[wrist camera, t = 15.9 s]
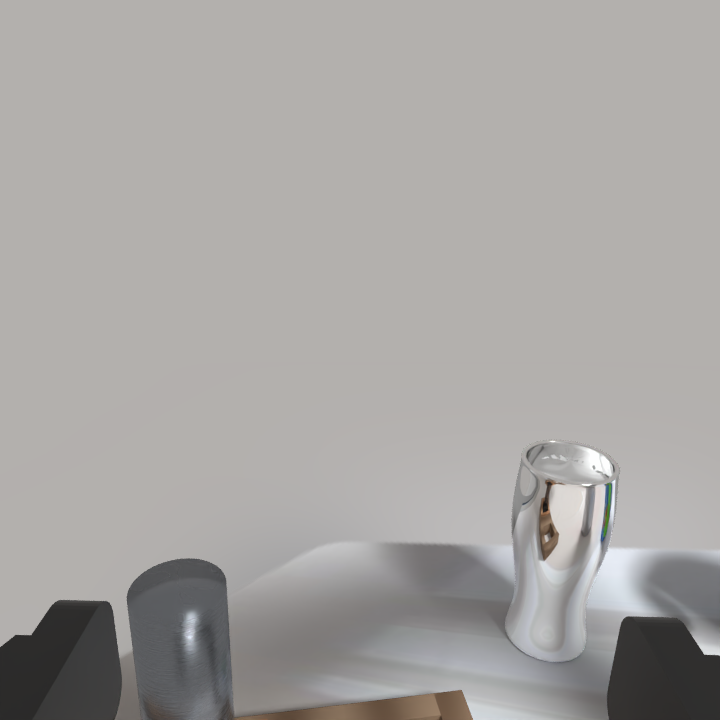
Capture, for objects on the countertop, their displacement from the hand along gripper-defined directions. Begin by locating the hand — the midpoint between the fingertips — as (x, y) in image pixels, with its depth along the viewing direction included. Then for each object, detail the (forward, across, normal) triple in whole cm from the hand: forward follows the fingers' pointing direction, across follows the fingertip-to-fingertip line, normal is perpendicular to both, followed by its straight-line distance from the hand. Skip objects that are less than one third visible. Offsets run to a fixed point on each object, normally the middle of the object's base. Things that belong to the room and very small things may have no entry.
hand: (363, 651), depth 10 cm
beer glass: (+31, -14, +28) cm, 44 cm away
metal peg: (+16, +8, +28) cm, 33 cm away
